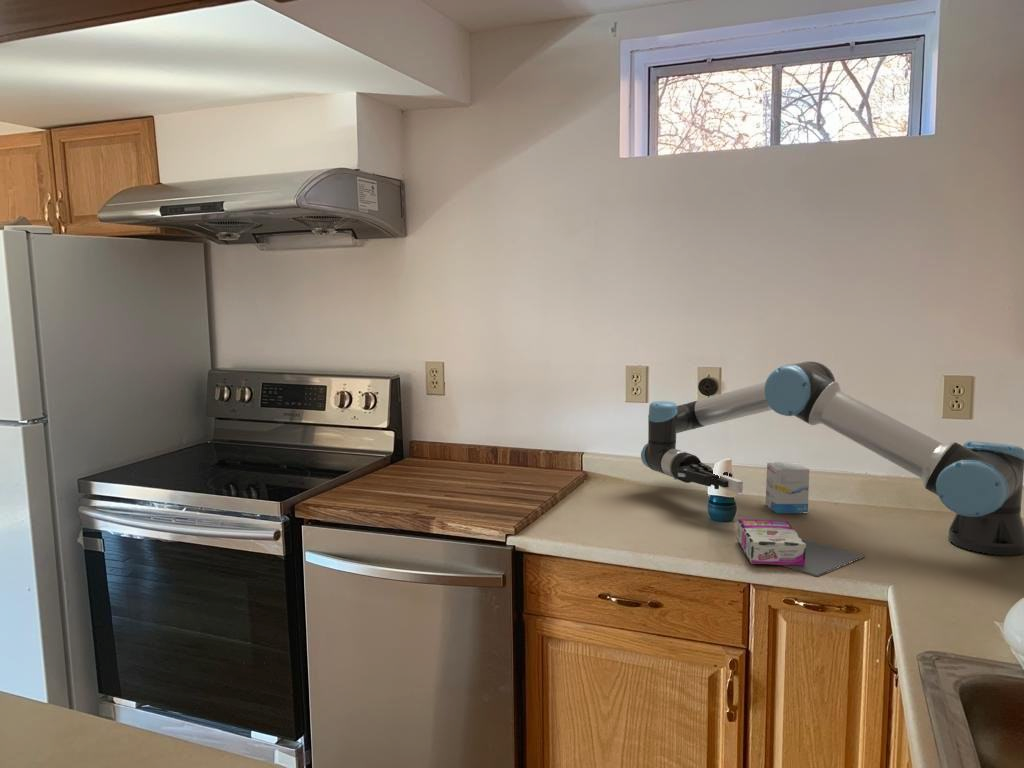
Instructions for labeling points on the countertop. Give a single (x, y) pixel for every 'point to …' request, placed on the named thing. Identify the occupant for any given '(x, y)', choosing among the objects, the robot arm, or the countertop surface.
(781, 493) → the ink box
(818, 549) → the mat
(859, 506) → the countertop surface
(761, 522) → the candy bar box
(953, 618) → the countertop surface
